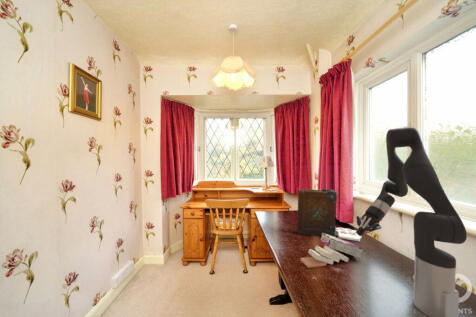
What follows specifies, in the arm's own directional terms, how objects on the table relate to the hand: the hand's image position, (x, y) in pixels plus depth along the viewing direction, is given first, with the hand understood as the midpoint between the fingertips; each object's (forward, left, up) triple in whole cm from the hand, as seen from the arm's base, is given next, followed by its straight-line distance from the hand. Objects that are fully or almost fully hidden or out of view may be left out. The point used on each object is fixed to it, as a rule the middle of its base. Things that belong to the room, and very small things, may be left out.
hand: (358, 234), depth 92 cm
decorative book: (+29, +3, -12) cm, 32 cm away
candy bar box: (+1, 0, -9) cm, 9 cm away
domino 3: (0, +9, -11) cm, 14 cm away
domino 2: (0, +18, -11) cm, 21 cm away
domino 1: (0, +22, -12) cm, 25 cm away
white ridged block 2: (0, +14, -11) cm, 18 cm away
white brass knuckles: (+23, -16, -13) cm, 31 cm away
